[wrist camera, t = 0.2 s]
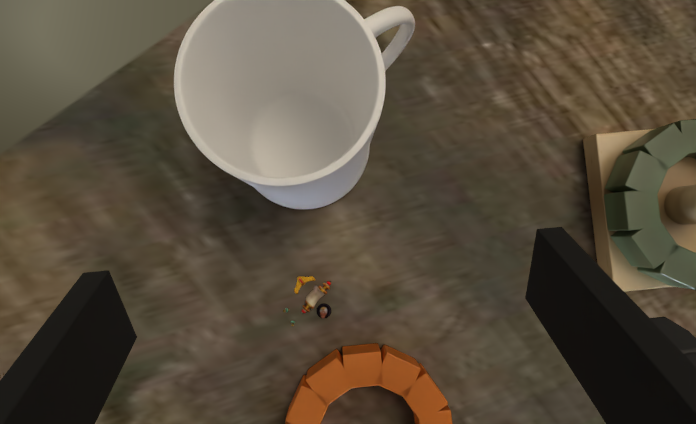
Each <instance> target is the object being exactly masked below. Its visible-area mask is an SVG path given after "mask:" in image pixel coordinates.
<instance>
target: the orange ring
mask: <svg viewBox="0 0 696 424" xmlns="http://www.w3.org/2000/svg"><path fill="white" fill-rule="evenodd" d="M342 351H343V357H342V355H341V354H340V352H339V351H338V349H336V350H334V351H333V352H331V353H330V354H329V355H327V356H326V357H325V358H323V359H322V360H320V361H319V362H318V363H316V364H315V365H314V366H312V367H311V368H309V369H308V371H307V376H306V375H303V377H302V379H301V382H300V384H299V386H298V388H297V390H296V393H295V395H294V397H293V399H292V401H291V403H290V406H289V408H288V412H287V416H286V419H285V421H286V422H285V424H321V422H322V419H323V417H324V415H325V413H326V411H327V408H328V406H329V404H331V403H332V402H333V401H335V400H336V399H337V398H339V397H340V396H341V395H343V394H344V393H346V392H347V391H348V390H350V389H351V388H358V387H368V386H378V385H379V386H381V387H383V388H385V389H388V390H390V391H392V392H394V393H396V394H398V395H401V396H403V398H404V399H405V401H406V402H407V403H408V405H409V406H410V408H411V409H412V411H413V412H414V422H415V424H452V417H451V410H450V409H449V407H448V405H447V404H448V402H447V400H446V399H445V397H444V396H443V394H442V393H441V391H440V390H439V388H438V387H437V385H436V384H435V383H434V381H433V380H432V378H431V377H430V375H429V374H428V373H427V371H426V370H425V368H424V367H423V366H422V364H421V363H419V364H418V362H417V361H416V359H415V358H413V357H411V356H408V355H406V354H404V353H402V352H400V351H398V350H395V349H393V348H391V347H389V346H387V345H383V346H382V349H381V351H380V348H379V345H378V343H373V344H363V345H353V346H343V347H342Z"/></svg>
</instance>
